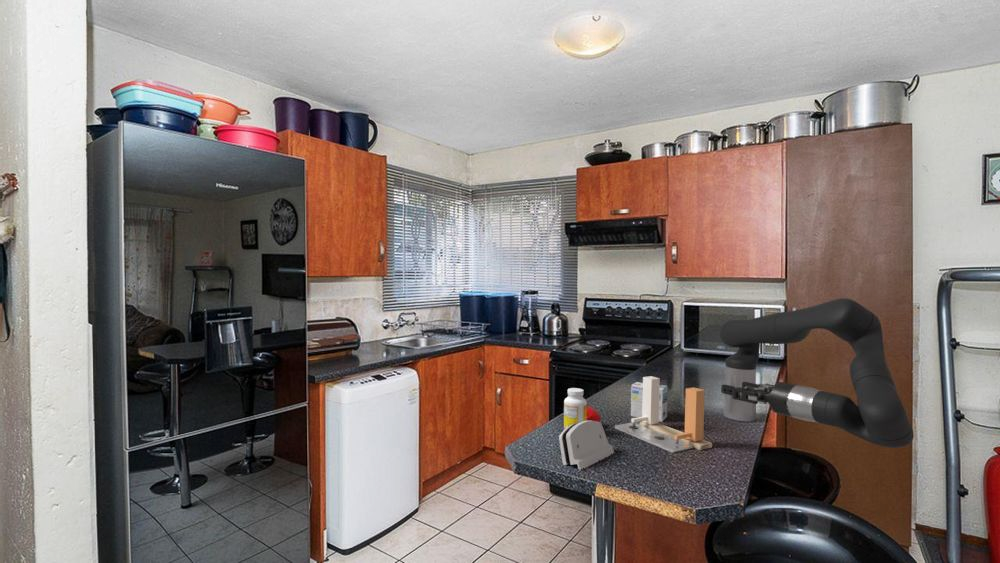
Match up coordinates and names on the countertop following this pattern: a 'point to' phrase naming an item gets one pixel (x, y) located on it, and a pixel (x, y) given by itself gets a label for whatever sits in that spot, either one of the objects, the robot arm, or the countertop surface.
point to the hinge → (584, 444)
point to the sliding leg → (693, 415)
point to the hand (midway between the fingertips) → (732, 387)
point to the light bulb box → (638, 396)
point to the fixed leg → (649, 401)
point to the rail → (671, 432)
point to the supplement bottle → (574, 407)
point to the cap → (592, 415)
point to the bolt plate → (654, 437)
